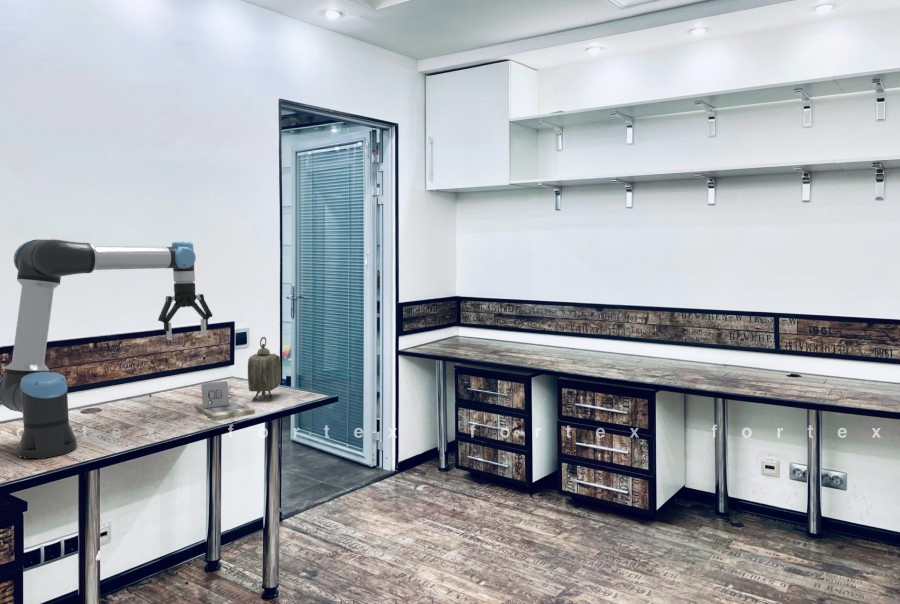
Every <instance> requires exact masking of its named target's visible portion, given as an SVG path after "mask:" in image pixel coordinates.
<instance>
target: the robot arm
mask: <svg viewBox="0 0 900 604" xmlns="http://www.w3.org/2000/svg"><path fill="white" fill-rule="evenodd" d="M193 244H194V243H192V242H191V241H173V242H172V243H171V246H131V245H130V246H125V245H123V246H114V245H113V246H111V245H107V246H106V245H98V246H97V245H93V244H92V243H91V242H76V241H71V240H70V241H69V240H62V239H52V238H51V239H38V238H37V239H32V240H28V241H26V242H23V243H22V244H21V245H19V246H18V247H17V249H16V250H15V252H14V254H13V255H14V256H13V264H14V267H15V268H16V270H17V277H16V281H17V282H18V283H19V284H20V285H21V291H20V298H19V307H18V311H17V312H18V313H17V321H16V327H15V328H16V329H15V335H14V345H13V350H12V357H11V358H12V360H11V362H10V363H9V364H7V365H6V366H5V368H4V373H3V374H4V375H3V376H2V377H1V378H0V404H1V405H2V406H4V407H5V408H7V409H9V410H10V411H13V412H19V413H22V421H23V431H22V434H21V438H20V442H19V444H18V446H17V447H18V448H17V449H18V450H17V452H18V457H19V456H21V457H25V458H40V459H46V458H45V457H48V458H53V457H52V456H54V457H57V456H58V455H59V456H62V455H65V453H66V454H68V452H69V453H71V452H73V451H75V450H76V449H77V448H78V442H77V441H78V440H77V438H76V435H75V434H74V431H73V429H72V427H71V425H70V421H69V420H70V419H69V418H70V417H69V400H68V399H69V398H68V383H67V378H66V377H65V375H63V374H61V373H59V372H50V369H49V368H48V367H47V365H46V364H45V361H46V360H45V359H46V351H47V344H48V336H49V328H50V320H51V314H52V313H51V312H52V307H53V305H52V304H53V297H54V290H55V288H57V287H58V286H60V285H61V280H62V277H64V276H65V277H66V276H73V275H80V274H92V273H93V272H94V271H100V270H101V271H107V270H108V271H109V270H142V269H143V270H147V269H172V272H173V273H172V274H173V282H174V284H173V293H174V296H171V295H170V296H169V295H166V297H165V302H164V305H163V307H162V309H161V311H160V314H159V317H158V318H157V320H158V321H159V322H161V323H163V331H164V332H166V340H168V341H172V340H173V337H172V336H173V334H172V323H171V322H170V321H171V320H172V319H173V317H174V316H175V315H176V313H177V311H179V309H180V308H185V307H186V308H187V307H188V308H189V307H191V308H193V309H194V311H196V313H197V314H198V315H199V316H200V317H201V318H200V335H201V337H207V328H208V327H209V319H210V318H213V312H212V311H211V309H210V308H209V306H208V304H207V302H206V300H205V296H204V294H203V293H198V294H196V283H195V281H196V276H195V275H196V274H195V262H196V253H195V251H194V245H193ZM196 300H198V302H199V305H200V306H201V307H200V306H199V305H198V303H197V302H196ZM173 301H174V304H173V306H172V307H171V305H172V303H173ZM170 307H171V309H170ZM201 308H202V309H201ZM59 456H58V457H59ZM21 457H20V458H21ZM25 458H24V459H25Z"/></svg>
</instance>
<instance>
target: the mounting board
mask: <svg viewBox="0 0 900 604" xmlns="http://www.w3.org/2000/svg"><path fill="white" fill-rule="evenodd" d="M209 404H211V401H209ZM194 407H195V408H196V409H195V410H197V411H198V410H199V411H198V412H200V413H201V412H202V413H201V414H203V413H204V414H203V415H205V416H206V415H207V416H206V417H208V418H209V417H210V418H209V419H211V420H212V421H219V420H218V419H220V420H225V419H224V418H226V419H231V417H232V418H236V417H235V416H238V417H242V416H241V415H244V416H247V415H246V414H250V415H254V414H253V413H255V414H256V409H255V408H253V407H251V406H249V405H247V404H246V403H243V402H242V401H239V400H238V399H235V398H233V399H232V398H231V399H230V398H229V405H228V406H222V407H213V408H203V403H198V404H194Z"/></svg>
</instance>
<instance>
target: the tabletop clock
mask: <svg viewBox="0 0 900 604" xmlns="http://www.w3.org/2000/svg"><path fill="white" fill-rule="evenodd" d="M263 340H264V343H262V341H263ZM259 346H260V348H259V349H258V350H257V353H255V354H253V355H251V356H249V358H248V360H247V382H248V383H247V384H248V390H249V392H256V393H255V396H253V397H252V401H253V402H257V400H258V396H259V394H260V393H261V395H263V396H265V395H266V392H268V394H269V395H268V398H269V399H273V397H274V396H273V394H271V391H274V390H275V389H277V388H278V387H279V386H280V385H281V382H282V380H281V379H282V369H281V368H282V367H281V357H280V356H279V355H277V354H276V353H271V352H270V350H269V349H268V348H267V347H266V346H267V338H266V336H262V337H261V338H260V341H259Z"/></svg>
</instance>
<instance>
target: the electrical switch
mask: <svg viewBox="0 0 900 604" xmlns="http://www.w3.org/2000/svg"><path fill="white" fill-rule="evenodd" d="M200 388H201V389H200V390H201V394H202V395H201V396H202V397H201V398H202V404H203V408H213V407H222V406H228V405H229V400H230V397H229V396H230V395H229V387H228V381H226V380H225V381H215V382H214V381H213V382H205V383H204V382H203V383H201V386H200ZM210 402H211V404H209V403H210Z"/></svg>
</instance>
